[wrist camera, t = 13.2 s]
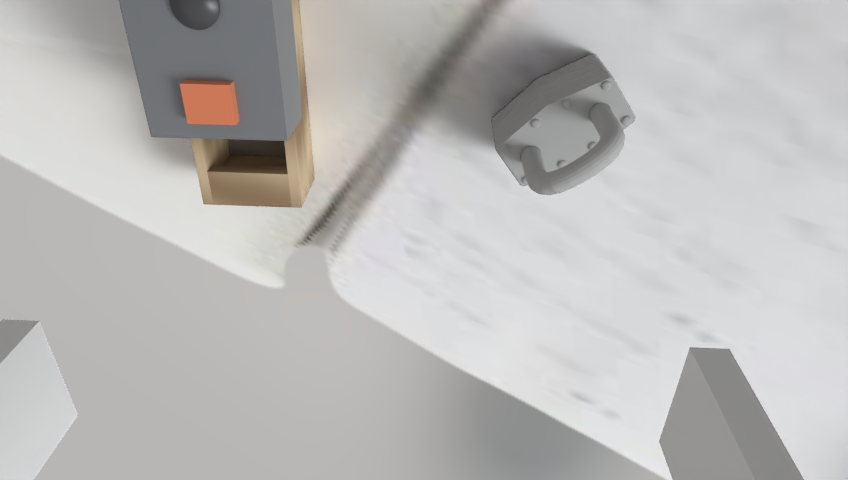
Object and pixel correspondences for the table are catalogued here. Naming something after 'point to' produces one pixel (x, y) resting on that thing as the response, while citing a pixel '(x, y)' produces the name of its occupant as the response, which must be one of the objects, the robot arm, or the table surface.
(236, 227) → the table surface
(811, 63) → the table surface
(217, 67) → the power strip
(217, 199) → the keyhole rail
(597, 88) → the padlock
